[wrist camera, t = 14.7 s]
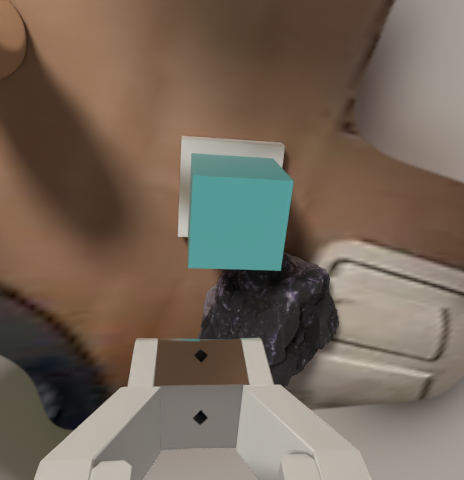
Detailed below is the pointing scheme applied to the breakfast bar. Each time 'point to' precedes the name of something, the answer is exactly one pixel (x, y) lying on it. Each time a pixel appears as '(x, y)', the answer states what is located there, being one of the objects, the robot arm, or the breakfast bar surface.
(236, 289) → the dark grey rock
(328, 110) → the breakfast bar surface
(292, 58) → the breakfast bar surface
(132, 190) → the breakfast bar surface
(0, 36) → the beer glass
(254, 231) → the turquoise cube
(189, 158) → the square base with post
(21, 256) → the breakfast bar surface
